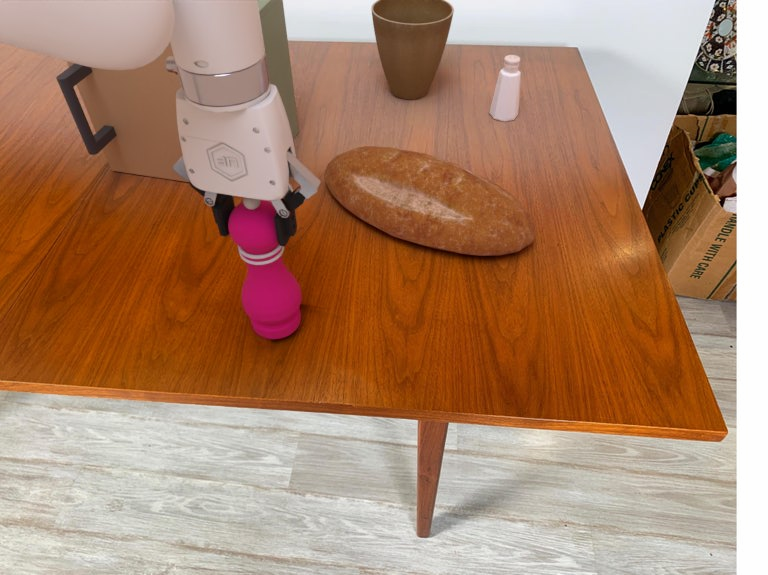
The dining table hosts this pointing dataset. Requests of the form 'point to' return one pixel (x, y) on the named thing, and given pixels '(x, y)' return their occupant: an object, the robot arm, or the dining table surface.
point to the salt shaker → (507, 91)
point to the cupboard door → (128, 115)
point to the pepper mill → (265, 271)
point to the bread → (429, 201)
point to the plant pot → (411, 42)
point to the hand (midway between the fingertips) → (257, 231)
